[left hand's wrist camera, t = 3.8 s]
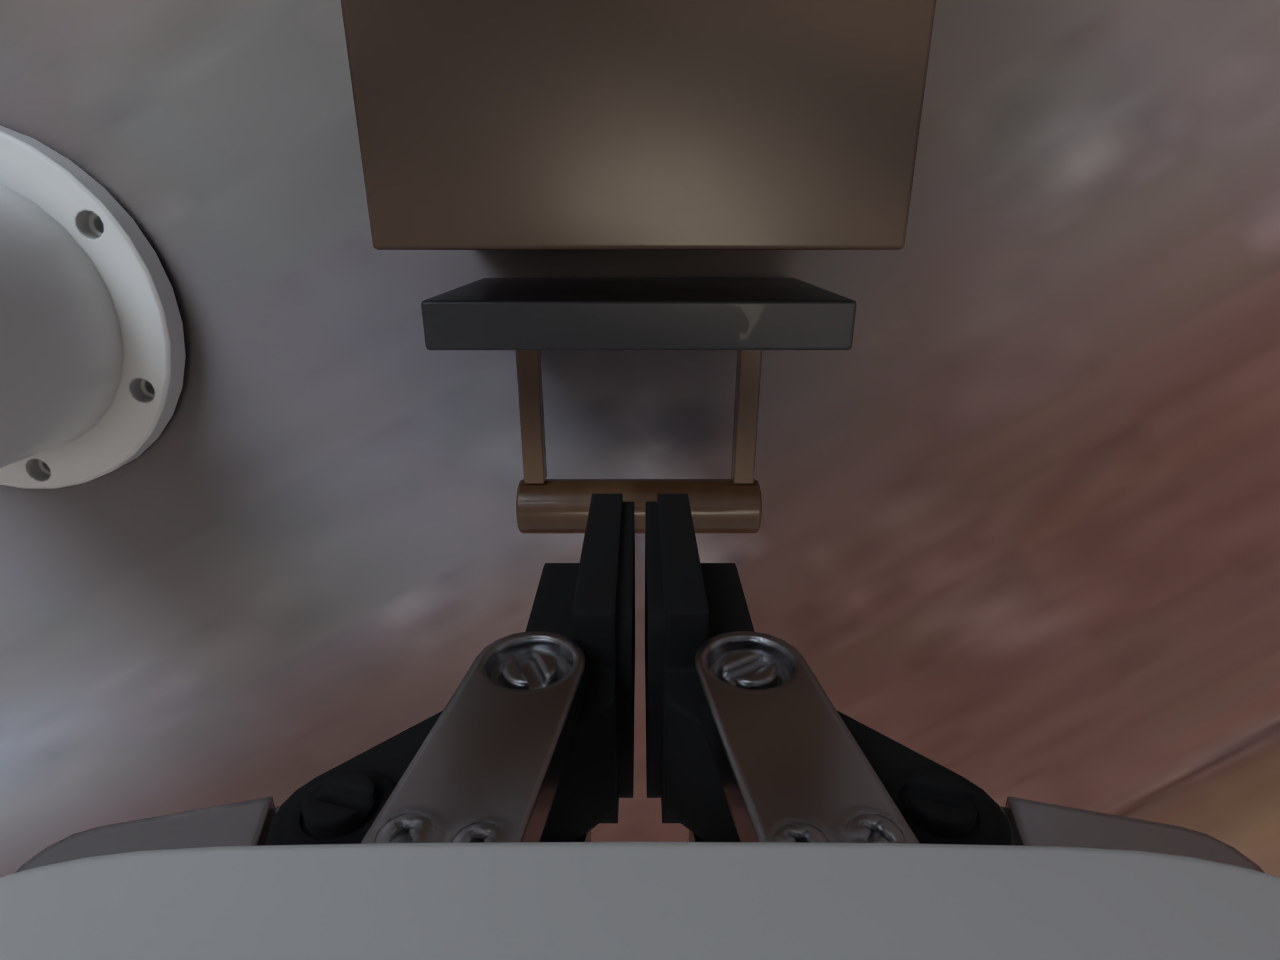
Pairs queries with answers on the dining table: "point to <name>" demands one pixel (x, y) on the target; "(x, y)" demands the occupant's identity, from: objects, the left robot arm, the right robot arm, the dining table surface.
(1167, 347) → the dining table surface
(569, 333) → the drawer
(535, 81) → the dark wooden block
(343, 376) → the dining table surface
